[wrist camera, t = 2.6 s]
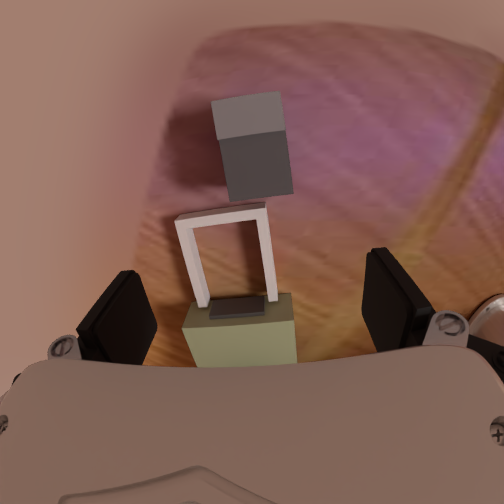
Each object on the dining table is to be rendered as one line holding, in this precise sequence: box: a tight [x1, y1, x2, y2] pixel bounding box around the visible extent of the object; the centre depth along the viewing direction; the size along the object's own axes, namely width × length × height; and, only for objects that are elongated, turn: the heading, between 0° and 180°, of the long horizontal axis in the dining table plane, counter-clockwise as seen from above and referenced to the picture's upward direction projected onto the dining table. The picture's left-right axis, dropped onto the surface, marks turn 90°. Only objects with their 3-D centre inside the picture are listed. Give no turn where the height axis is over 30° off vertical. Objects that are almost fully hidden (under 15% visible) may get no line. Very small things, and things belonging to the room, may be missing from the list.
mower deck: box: [174, 202, 297, 368], centre depth 30 cm, size 12×29×9 cm, turn 9°
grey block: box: [211, 91, 293, 202], centre depth 22 cm, size 5×8×7 cm, turn 9°
